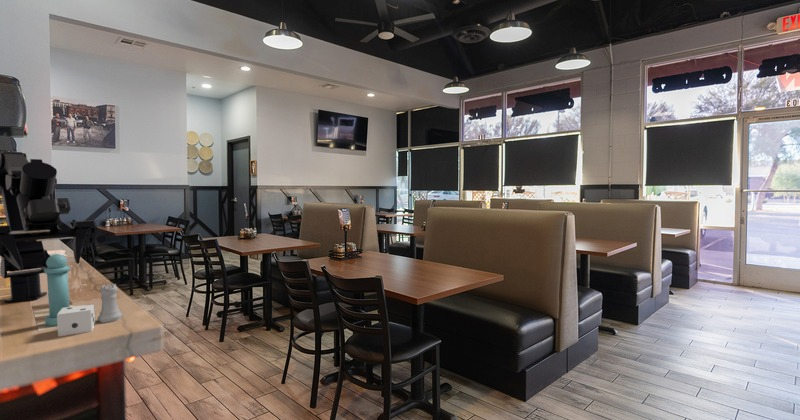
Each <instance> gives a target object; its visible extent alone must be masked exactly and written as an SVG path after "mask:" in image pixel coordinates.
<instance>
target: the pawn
mask: <svg viewBox="0 0 800 420" xmlns="http://www.w3.org/2000/svg"><path fill="white" fill-rule="evenodd" d="M67 263H68V260H67V257H65V256H64V255H63V254H60V253H59V254H57V253H56V254H52V255H50V257H49V258H48V259H47V261H46V265H47V267H48V268H45V269H44V273H43V274H46V278H47V279H46V280H47V294H48V296H47V297H48V303H49V314H50V315H49V316H47V317H45V324H46V326H48V327H54V326H58V325H57V314H58V313H59V311H60V310H61V309H62V308H65V307H70V304H69V300H70V290H69V277H68V276H69V275H68V274H69V273H68V272H69V271H71V267H70V265H67Z"/></svg>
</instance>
